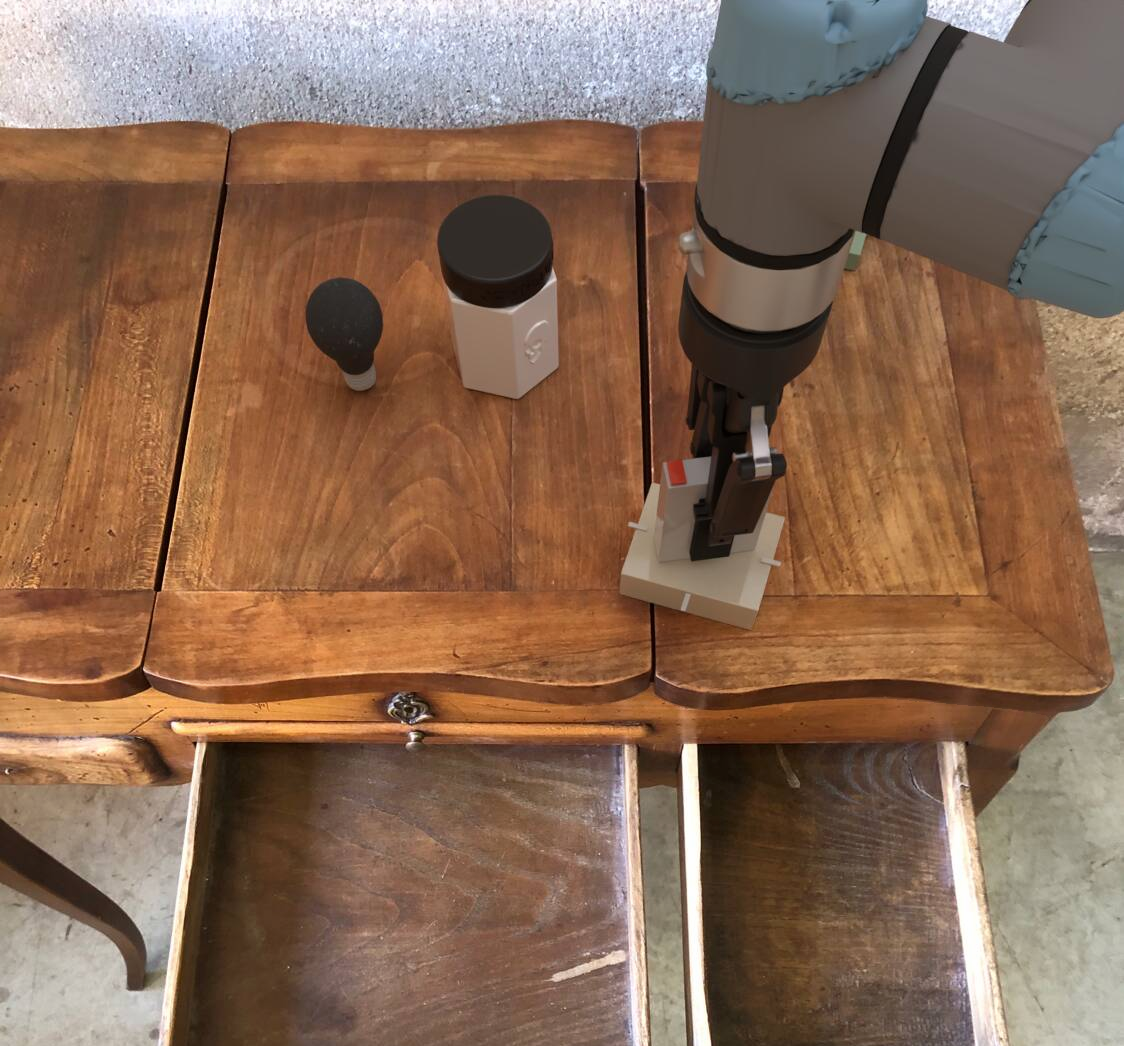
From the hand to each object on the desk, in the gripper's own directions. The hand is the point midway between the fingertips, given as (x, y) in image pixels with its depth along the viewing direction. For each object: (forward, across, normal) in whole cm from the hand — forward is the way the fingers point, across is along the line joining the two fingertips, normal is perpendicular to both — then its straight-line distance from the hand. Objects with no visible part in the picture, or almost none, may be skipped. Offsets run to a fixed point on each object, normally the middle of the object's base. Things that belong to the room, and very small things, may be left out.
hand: (705, 537), depth 74 cm
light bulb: (+4, -20, -24) cm, 31 cm away
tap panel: (+4, 0, 0) cm, 4 cm away
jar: (+4, -21, -12) cm, 25 cm away
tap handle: (+1, 0, 0) cm, 1 cm away
